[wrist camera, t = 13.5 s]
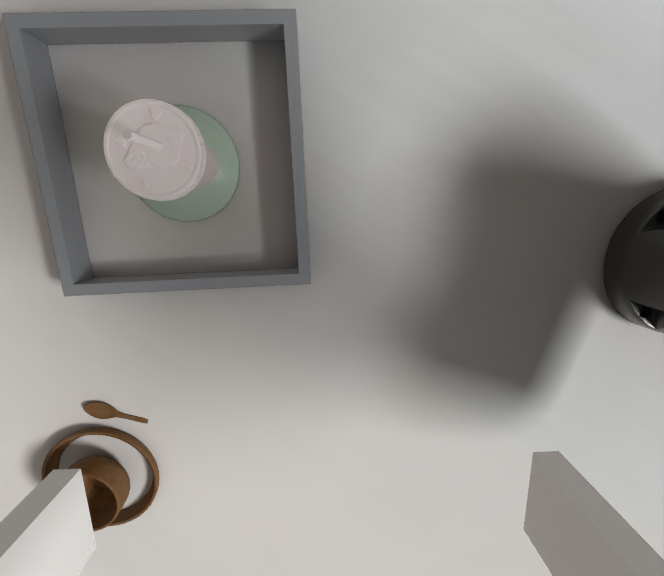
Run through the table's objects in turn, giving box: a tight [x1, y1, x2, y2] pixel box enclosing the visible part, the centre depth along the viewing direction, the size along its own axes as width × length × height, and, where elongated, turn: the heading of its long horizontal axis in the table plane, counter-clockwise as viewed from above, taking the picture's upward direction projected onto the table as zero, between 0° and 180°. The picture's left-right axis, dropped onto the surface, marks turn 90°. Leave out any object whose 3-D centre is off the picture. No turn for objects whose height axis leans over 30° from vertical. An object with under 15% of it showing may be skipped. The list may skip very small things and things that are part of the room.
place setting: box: [42, 402, 159, 531], centre depth 37 cm, size 18×20×6 cm
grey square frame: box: [2, 9, 310, 296], centre depth 32 cm, size 22×22×3 cm
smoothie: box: [103, 98, 218, 201], centre depth 26 cm, size 6×6×14 cm
